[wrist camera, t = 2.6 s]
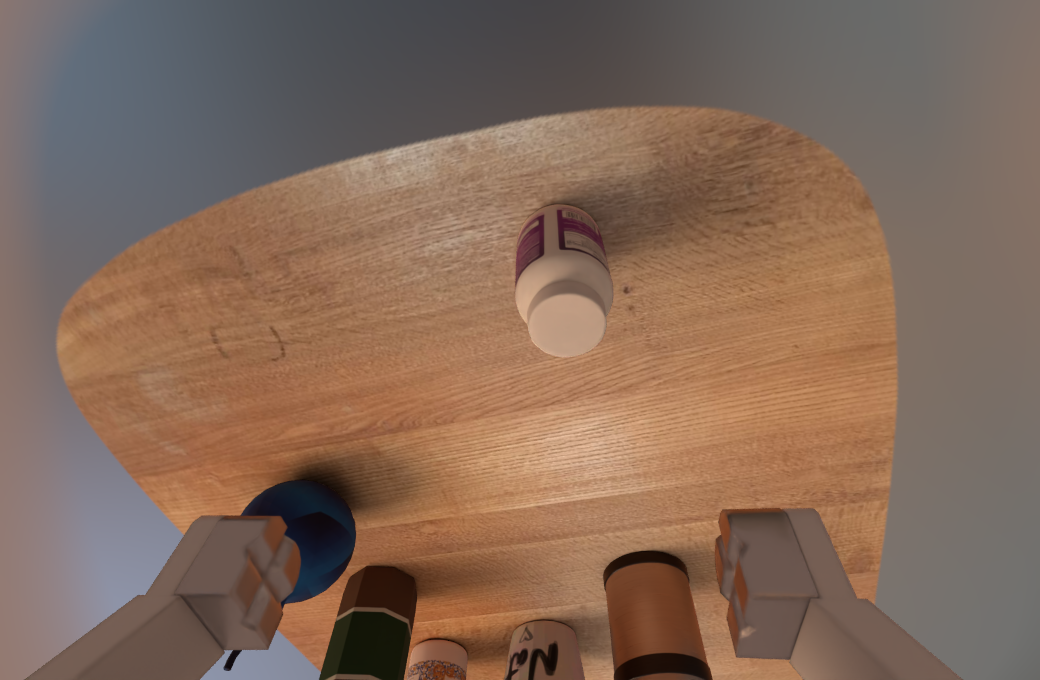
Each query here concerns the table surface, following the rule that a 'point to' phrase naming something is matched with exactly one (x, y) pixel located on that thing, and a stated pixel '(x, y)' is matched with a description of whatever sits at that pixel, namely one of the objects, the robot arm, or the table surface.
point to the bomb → (309, 534)
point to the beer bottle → (372, 627)
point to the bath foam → (438, 661)
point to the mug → (544, 653)
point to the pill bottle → (563, 280)
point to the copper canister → (653, 619)
